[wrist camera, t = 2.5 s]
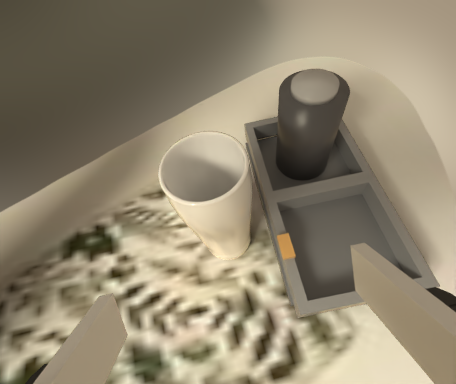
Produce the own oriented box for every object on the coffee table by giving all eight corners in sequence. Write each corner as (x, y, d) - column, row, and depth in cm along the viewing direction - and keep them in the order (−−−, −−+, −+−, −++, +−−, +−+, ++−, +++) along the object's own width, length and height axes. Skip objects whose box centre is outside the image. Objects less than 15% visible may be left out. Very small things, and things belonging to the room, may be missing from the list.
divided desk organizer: (294, 319, 26) (314, 298, 15) (244, 141, 39) (235, 61, 28) (422, 292, 26) (537, 252, 15) (329, 122, 39) (354, 34, 28)
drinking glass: (258, 215, 32) (253, 128, 20) (255, 270, 29) (245, 208, 16) (205, 212, 33) (168, 129, 21) (196, 265, 30) (144, 203, 17)
